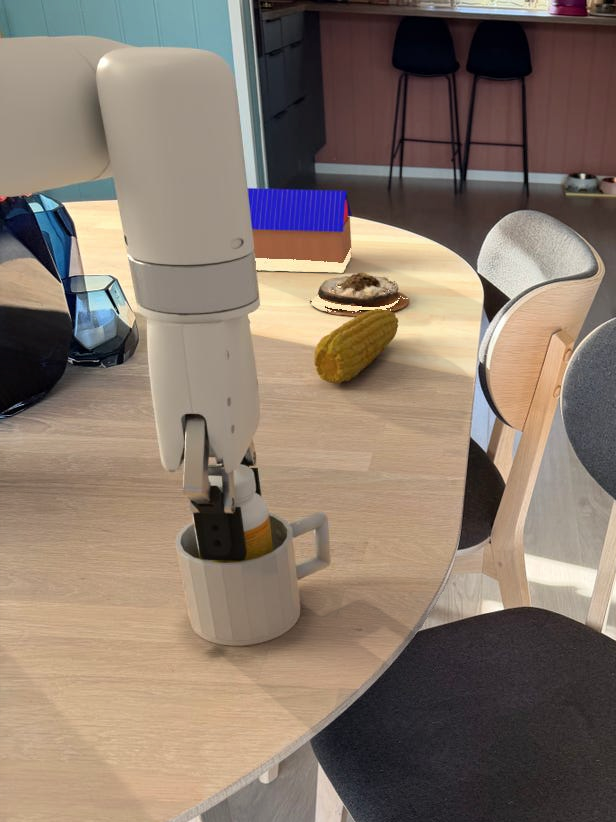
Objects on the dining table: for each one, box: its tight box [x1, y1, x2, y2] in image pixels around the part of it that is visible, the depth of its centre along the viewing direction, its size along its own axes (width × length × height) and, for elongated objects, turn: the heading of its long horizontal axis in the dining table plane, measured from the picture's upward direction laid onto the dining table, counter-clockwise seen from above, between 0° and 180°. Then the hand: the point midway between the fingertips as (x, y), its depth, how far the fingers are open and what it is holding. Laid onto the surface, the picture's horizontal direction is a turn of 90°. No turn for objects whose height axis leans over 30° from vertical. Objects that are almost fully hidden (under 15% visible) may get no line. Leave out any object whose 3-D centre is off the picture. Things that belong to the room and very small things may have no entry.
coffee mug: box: [174, 511, 332, 647], centre depth 72 cm, size 12×8×7 cm
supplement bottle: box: [192, 463, 273, 563], centre depth 68 cm, size 5×5×10 cm
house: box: [248, 187, 353, 263], centre depth 156 cm, size 12×20×12 cm, turn 89°
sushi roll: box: [309, 271, 410, 317], centre depth 141 cm, size 15×15×4 cm
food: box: [313, 309, 399, 384], centre depth 118 cm, size 21×6×6 cm, turn 166°
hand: (233, 534), depth 68 cm, fingers closed on supplement bottle, 5 cm apart
